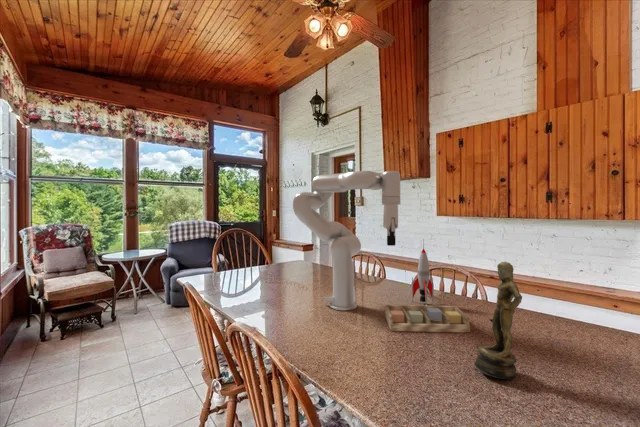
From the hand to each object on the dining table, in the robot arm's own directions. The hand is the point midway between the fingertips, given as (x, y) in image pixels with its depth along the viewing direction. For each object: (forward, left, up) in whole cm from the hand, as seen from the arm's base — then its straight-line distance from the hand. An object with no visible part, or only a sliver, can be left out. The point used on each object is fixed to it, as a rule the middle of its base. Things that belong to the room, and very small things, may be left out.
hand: (391, 245), depth 128 cm
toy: (+17, +14, -29) cm, 37 cm away
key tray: (+11, -10, -29) cm, 33 cm away
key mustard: (+21, -10, -28) cm, 36 cm away
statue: (+21, -45, -29) cm, 58 cm away
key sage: (+8, -10, -28) cm, 30 cm away
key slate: (+15, -10, -27) cm, 32 cm away
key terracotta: (+1, -10, -28) cm, 30 cm away
